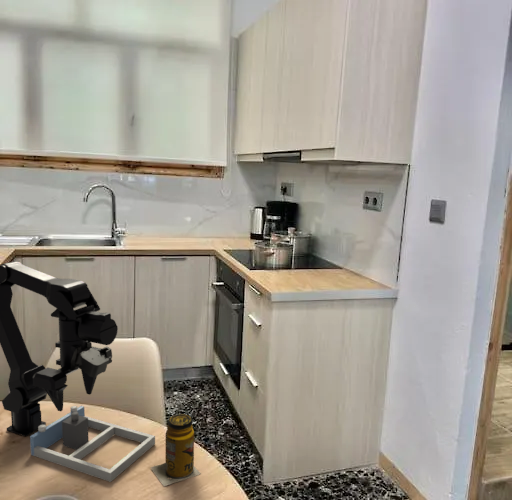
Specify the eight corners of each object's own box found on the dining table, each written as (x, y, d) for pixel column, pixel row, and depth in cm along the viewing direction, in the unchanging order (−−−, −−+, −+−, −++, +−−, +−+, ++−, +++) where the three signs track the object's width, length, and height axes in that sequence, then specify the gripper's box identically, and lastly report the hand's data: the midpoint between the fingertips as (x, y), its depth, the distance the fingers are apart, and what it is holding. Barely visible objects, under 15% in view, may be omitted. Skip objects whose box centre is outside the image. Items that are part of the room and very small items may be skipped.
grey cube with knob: (62, 445, 117) (61, 415, 116) (75, 437, 121) (74, 408, 119) (76, 450, 115) (75, 419, 114) (88, 441, 119) (87, 411, 118)
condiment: (200, 474, 108) (201, 422, 106) (163, 487, 103) (164, 433, 101) (186, 457, 114) (186, 407, 112) (150, 468, 109) (150, 417, 107)
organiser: (29, 454, 113) (28, 431, 112) (80, 422, 127) (80, 401, 127) (110, 481, 104) (110, 457, 103) (155, 443, 119) (155, 422, 118)
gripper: (70, 357, 102) (73, 429, 105) (128, 330, 119) (129, 393, 122) (29, 348, 106) (32, 417, 109) (90, 323, 123) (92, 383, 126)
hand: (75, 402), depth 116 cm, fingers open, 9 cm apart
